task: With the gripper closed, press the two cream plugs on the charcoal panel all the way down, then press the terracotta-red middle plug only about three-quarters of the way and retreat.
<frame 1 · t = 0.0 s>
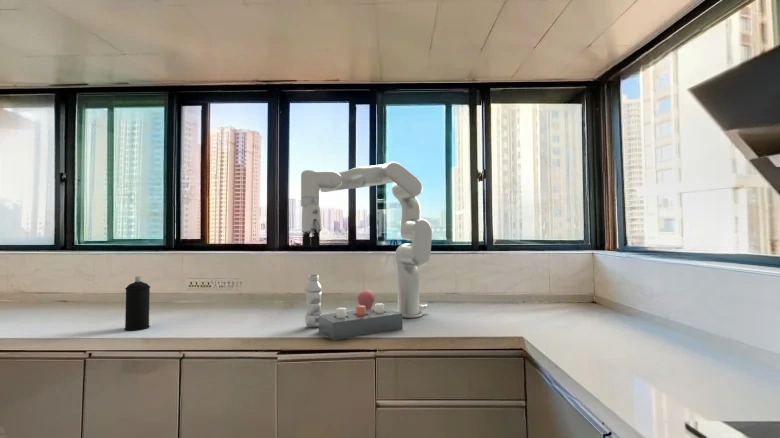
hand: (310, 246, 148), 31 cm above the worktop, tool pointing down, fingers open, 9 cm apart
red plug: (360, 314, 144), point 6 cm above the worktop, slide at 0.0 cm
cream plug 2: (379, 312, 148), point 6 cm above the worktop, slide at 0.0 cm
panel: (360, 330, 144), on the worktop
aerosol can: (137, 328, 149), on the worktop
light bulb: (366, 319, 164), on the worktop
cream plug 1: (341, 316, 140), point 6 cm above the worktop, slide at 0.0 cm
plastic bottle: (313, 327, 150), on the worktop
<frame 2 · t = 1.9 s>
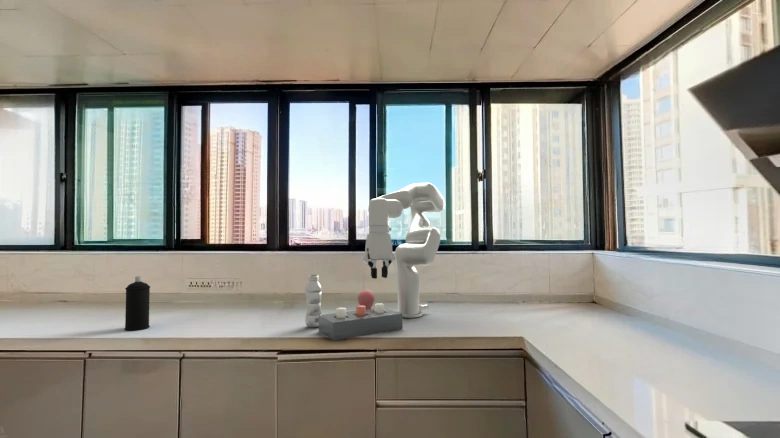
hand: (379, 277, 149), 19 cm above the worktop, tool pointing down, fingers open, 3 cm apart
nothing on the worktop moved.
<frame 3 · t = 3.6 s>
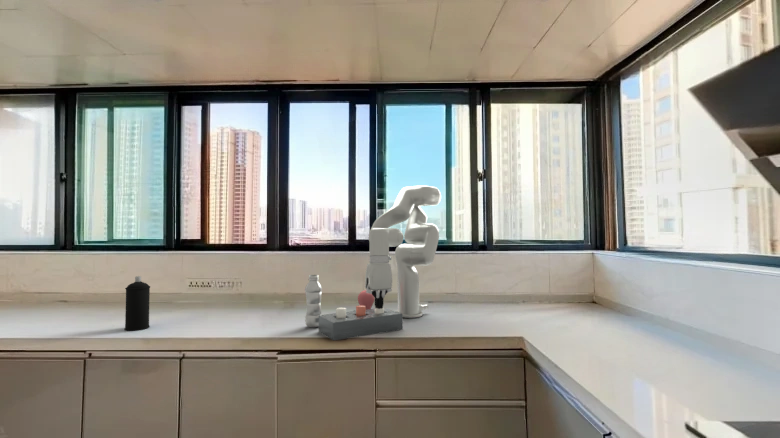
hand: (379, 307, 148), 8 cm above the worktop, tool pointing down, fingers closed
cream plug 2: (379, 315, 148), point 5 cm above the worktop, slide at 1.4 cm, touching gripper
everything else where it was.
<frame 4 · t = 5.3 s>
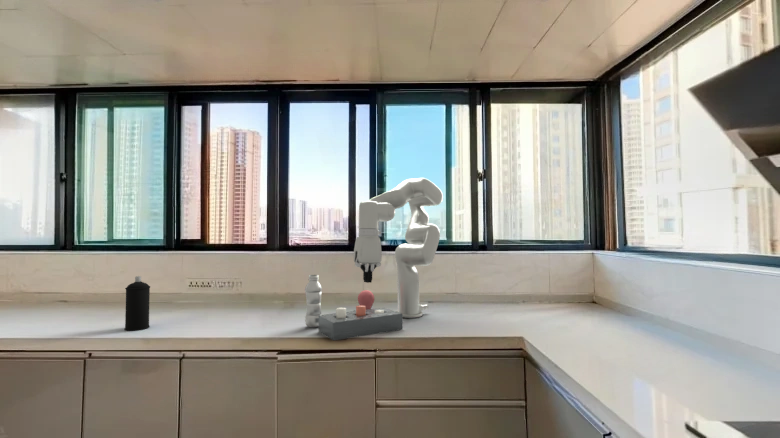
hand: (367, 282, 145), 18 cm above the worktop, tool pointing down, fingers closed
cream plug 2: (379, 318, 148), point 3 cm above the worktop, slide at 2.5 cm
everything else where it was.
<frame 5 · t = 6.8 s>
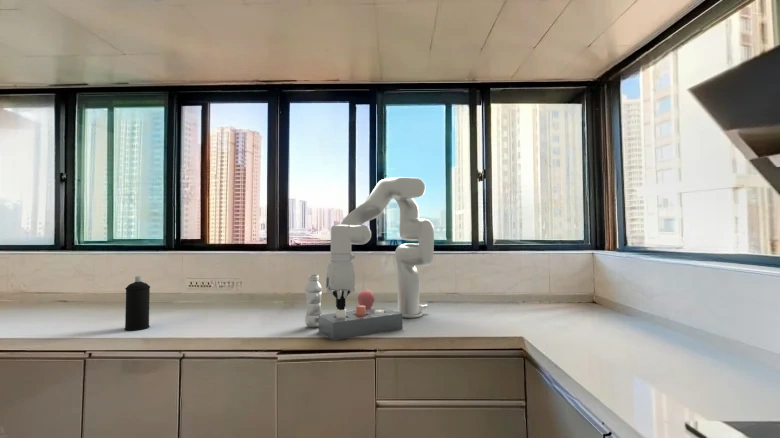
hand: (340, 309, 140), 9 cm above the worktop, tool pointing down, fingers closed
cream plug 1: (341, 317, 140), point 6 cm above the worktop, slide at 0.2 cm, touching gripper
everything else where it was.
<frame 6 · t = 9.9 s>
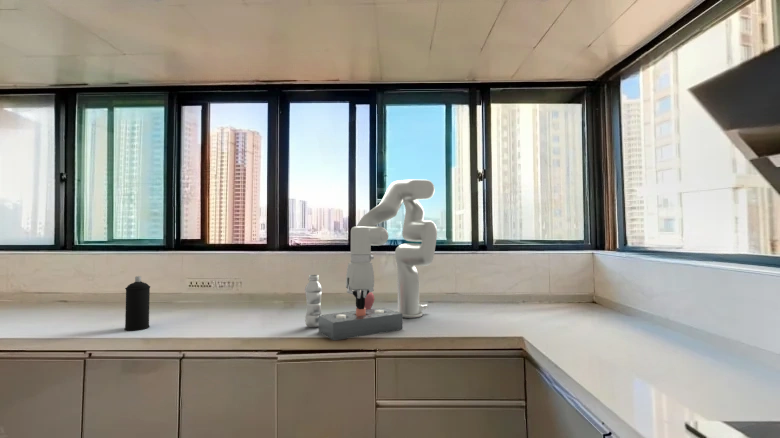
hand: (360, 308, 144), 8 cm above the worktop, tool pointing down, fingers closed
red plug: (360, 316, 144), point 5 cm above the worktop, slide at 0.8 cm, touching gripper
cream plug 1: (341, 323, 140), point 4 cm above the worktop, slide at 2.5 cm
everything else where it was.
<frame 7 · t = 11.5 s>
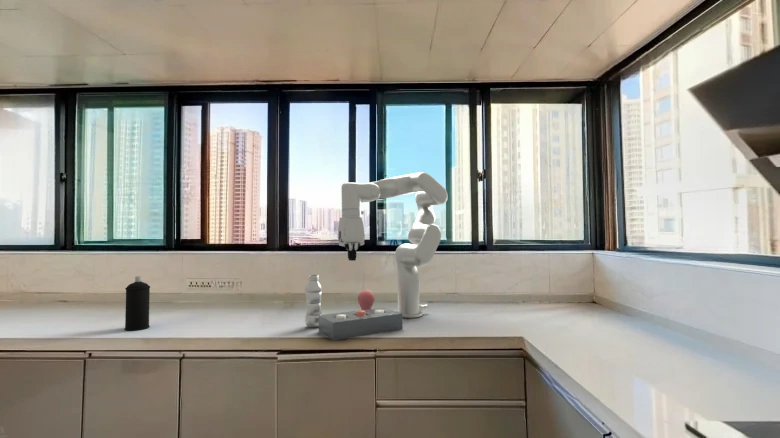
hand: (352, 260, 152), 26 cm above the worktop, tool pointing down, fingers closed
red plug: (360, 319, 144), point 4 cm above the worktop, slide at 1.8 cm
everything else where it was.
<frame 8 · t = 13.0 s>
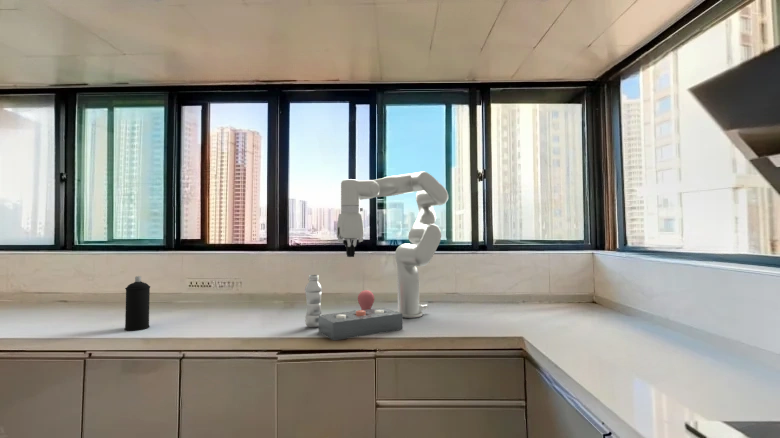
hand: (350, 256, 152), 27 cm above the worktop, tool pointing down, fingers closed
nothing on the worktop moved.
at the end: cream plug 2 slide at 2.5 cm; cream plug 1 slide at 2.5 cm; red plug slide at 1.8 cm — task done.
